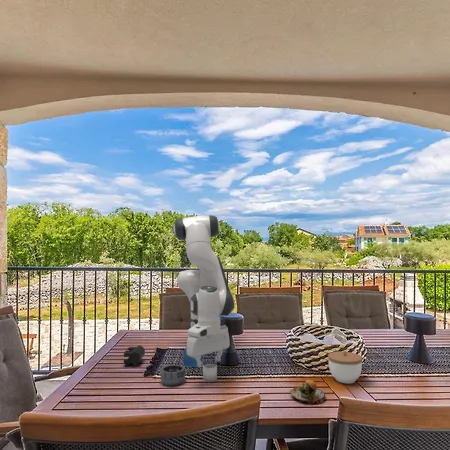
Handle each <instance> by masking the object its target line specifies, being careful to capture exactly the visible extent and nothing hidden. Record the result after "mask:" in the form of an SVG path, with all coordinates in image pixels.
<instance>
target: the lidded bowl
mask: <svg viewBox="0 0 450 450" xmlns="http://www.w3.org/2000/svg"><path fill="white" fill-rule="evenodd" d="M327 358H328V367H329V371H330V373H331V375H332V377H333V378H334V379H335V381H337V382H338V383H342V384H354V383H356V381H357V380H358V379H359V378H360V376H361V373H362V371H363V370H362V369H363V357H362V356H361V355H359V354H358V353H354V352H351V351H349V352H348V351H347V350H343V351H331V352H329V353H328V354H327Z"/></svg>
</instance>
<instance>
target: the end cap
mask: <svg viewBox="0 0 450 450" xmlns="http://www.w3.org/2000/svg"><path fill="white" fill-rule="evenodd" d="M145 354H146V349H145V348H144V347H143V346H142V345H136V346H128V347H127V350H125V351H124V352H123V358H127V359H123V367H124V368H135V367H136V366H137V365H138V364H139V363H140V362H141V361H142V359H143V358H144V357H145V356H146V355H145Z"/></svg>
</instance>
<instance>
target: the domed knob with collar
mask: <svg viewBox="0 0 450 450" xmlns="http://www.w3.org/2000/svg"><path fill="white" fill-rule="evenodd" d="M185 382H186V366H184V365H181V364H169V365H164V366H162V367H161V368H160V384H161V385H162V386H163V387H171V388H173V387H179V386H181V385H184V384H185Z"/></svg>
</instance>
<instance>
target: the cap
mask: <svg viewBox="0 0 450 450" xmlns="http://www.w3.org/2000/svg"><path fill="white" fill-rule="evenodd" d="M202 380H203V381H204V382H207V383H208V382H215V381H217V380H218V365H217V364H216V363H206V364H203V367H202Z"/></svg>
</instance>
